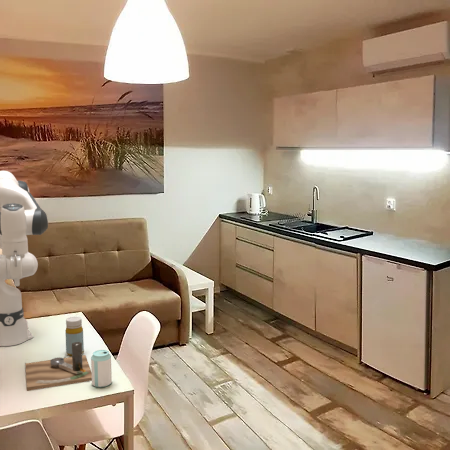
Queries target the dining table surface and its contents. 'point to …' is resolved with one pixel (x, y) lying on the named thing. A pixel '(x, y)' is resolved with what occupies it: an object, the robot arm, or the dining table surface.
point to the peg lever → (76, 360)
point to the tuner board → (54, 374)
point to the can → (101, 368)
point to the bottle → (73, 333)
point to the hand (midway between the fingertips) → (17, 285)
